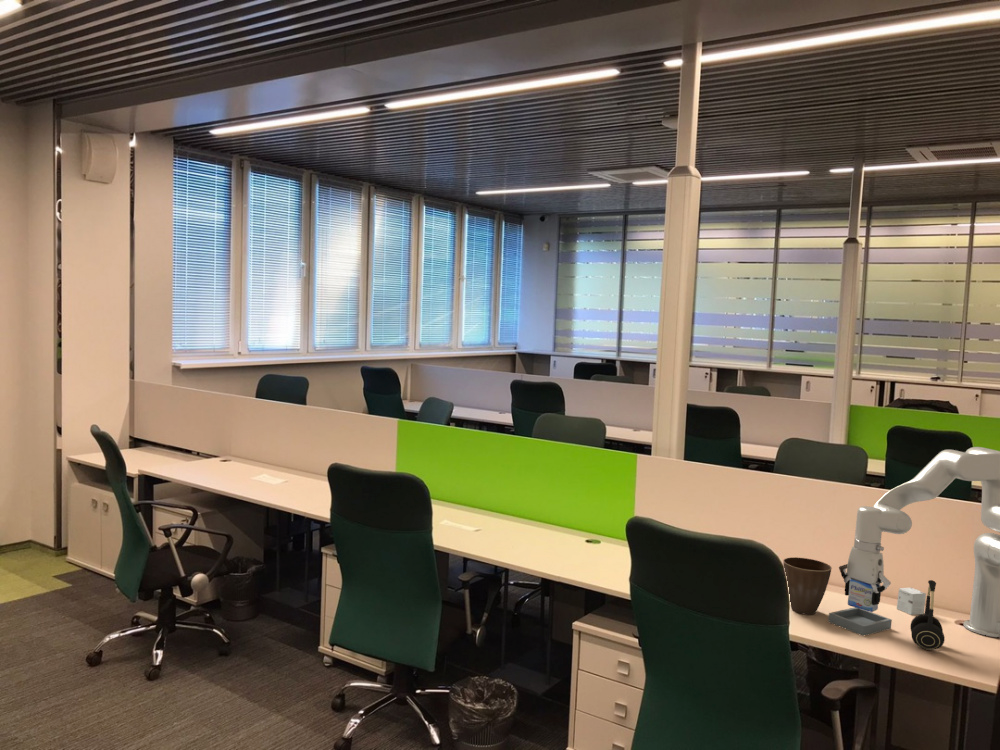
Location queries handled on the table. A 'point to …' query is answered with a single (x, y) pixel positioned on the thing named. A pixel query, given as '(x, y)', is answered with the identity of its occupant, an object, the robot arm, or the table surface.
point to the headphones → (928, 625)
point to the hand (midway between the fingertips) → (861, 599)
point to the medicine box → (861, 595)
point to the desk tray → (860, 621)
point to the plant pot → (806, 583)
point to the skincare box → (911, 601)
